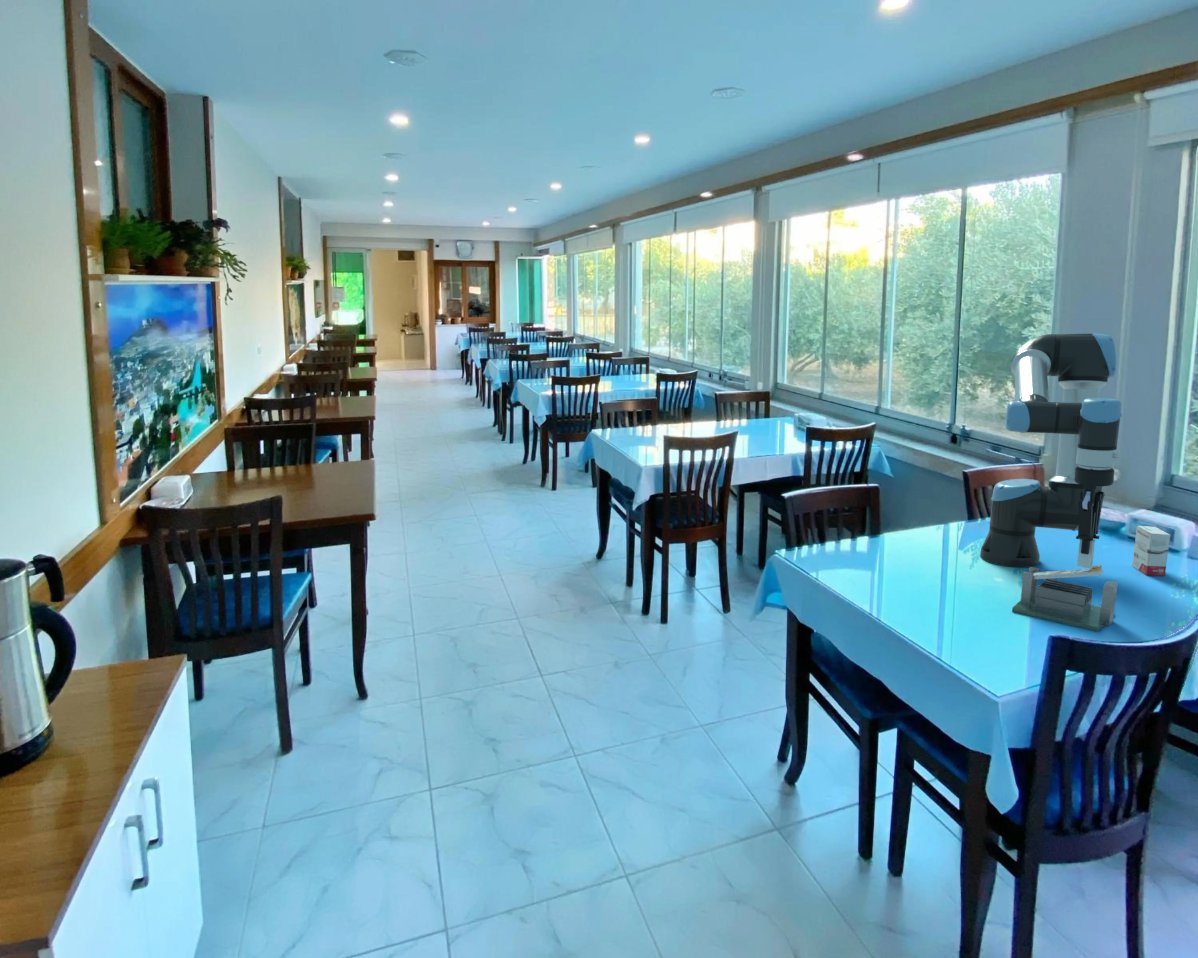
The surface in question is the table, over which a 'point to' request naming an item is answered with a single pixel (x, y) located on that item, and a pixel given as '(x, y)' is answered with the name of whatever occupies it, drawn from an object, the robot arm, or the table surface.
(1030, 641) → the table surface
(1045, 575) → the strap
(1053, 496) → the robot arm
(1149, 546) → the ink box
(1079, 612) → the heatsink
